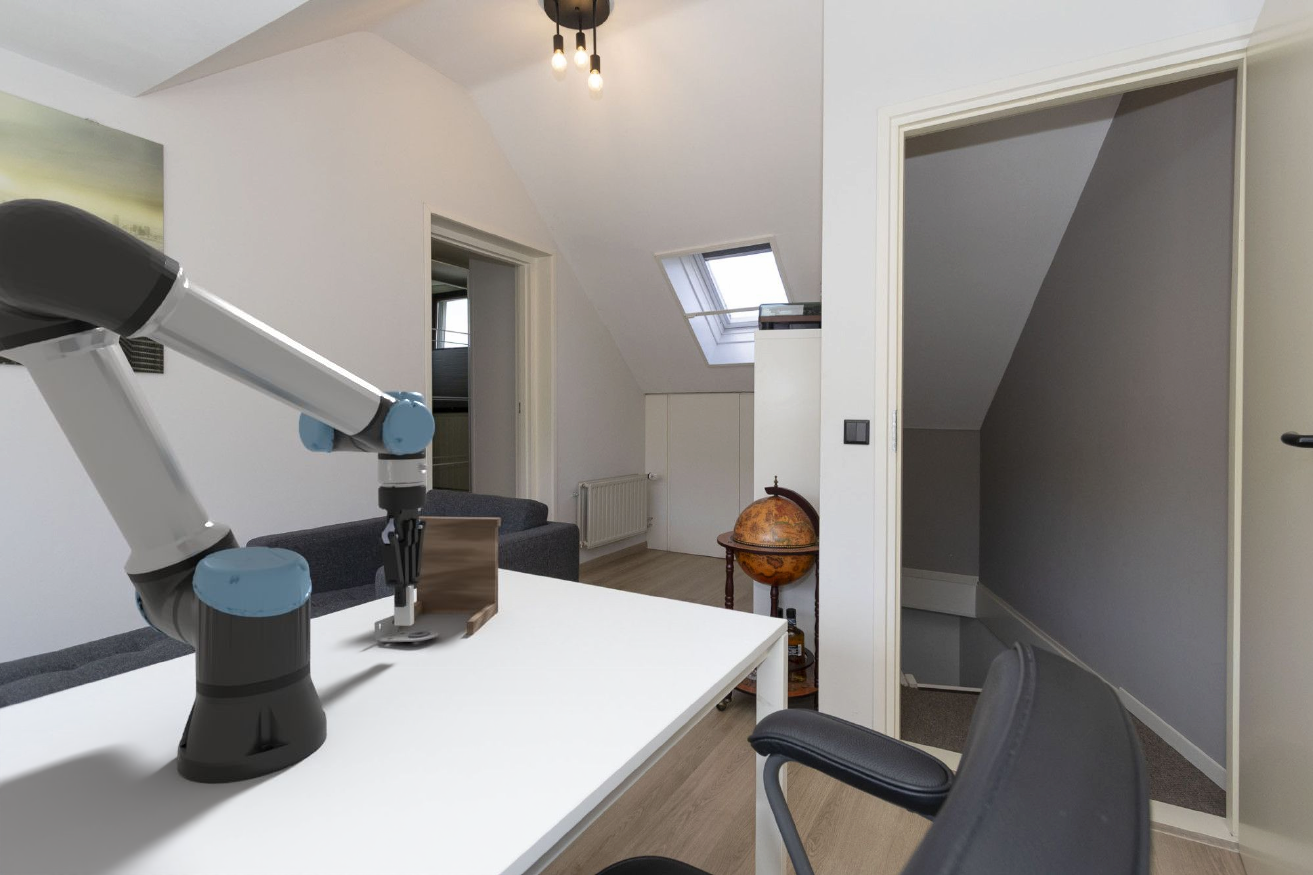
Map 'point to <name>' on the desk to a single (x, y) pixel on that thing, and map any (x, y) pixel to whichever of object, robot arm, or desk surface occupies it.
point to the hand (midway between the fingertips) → (404, 624)
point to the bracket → (390, 634)
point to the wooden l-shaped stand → (459, 569)
